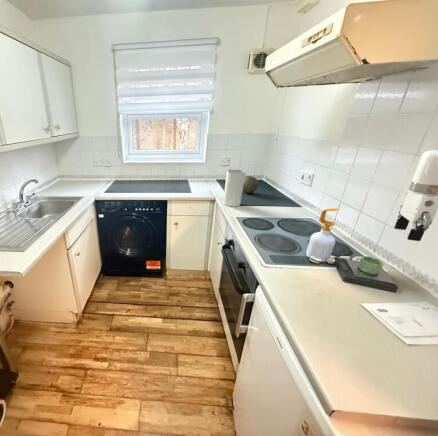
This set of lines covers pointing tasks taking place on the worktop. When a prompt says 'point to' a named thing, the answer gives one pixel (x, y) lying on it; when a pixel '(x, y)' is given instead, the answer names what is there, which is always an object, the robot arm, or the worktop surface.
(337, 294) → the worktop surface
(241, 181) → the cylinder vase
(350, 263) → the scale
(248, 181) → the cantaloupe
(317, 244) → the soap bottle
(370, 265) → the bowl
